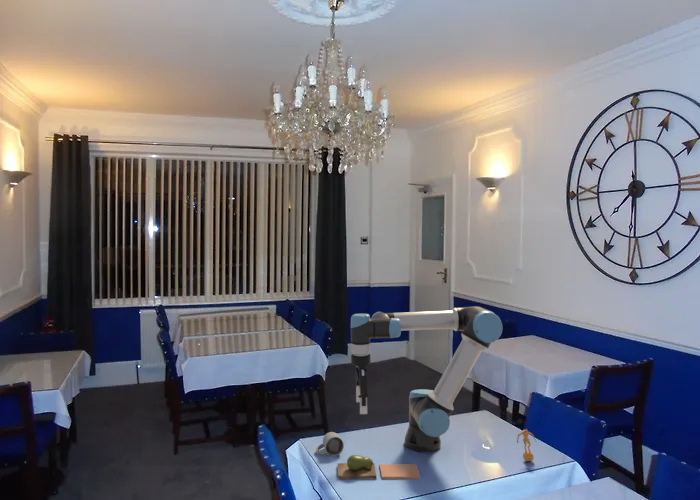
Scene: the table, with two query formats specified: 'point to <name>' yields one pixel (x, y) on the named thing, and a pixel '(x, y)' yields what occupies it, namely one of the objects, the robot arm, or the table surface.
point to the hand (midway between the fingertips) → (361, 407)
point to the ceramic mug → (331, 444)
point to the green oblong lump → (359, 462)
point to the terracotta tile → (399, 471)
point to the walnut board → (355, 472)
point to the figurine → (527, 454)
